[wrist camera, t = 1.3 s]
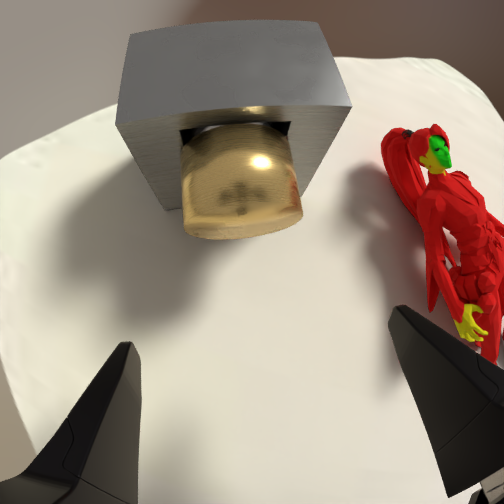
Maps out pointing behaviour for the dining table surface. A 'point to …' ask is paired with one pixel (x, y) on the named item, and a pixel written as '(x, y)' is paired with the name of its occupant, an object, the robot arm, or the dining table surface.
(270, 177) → the gold cylindrical piece
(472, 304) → the figurine
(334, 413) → the dining table surface
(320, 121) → the housing
